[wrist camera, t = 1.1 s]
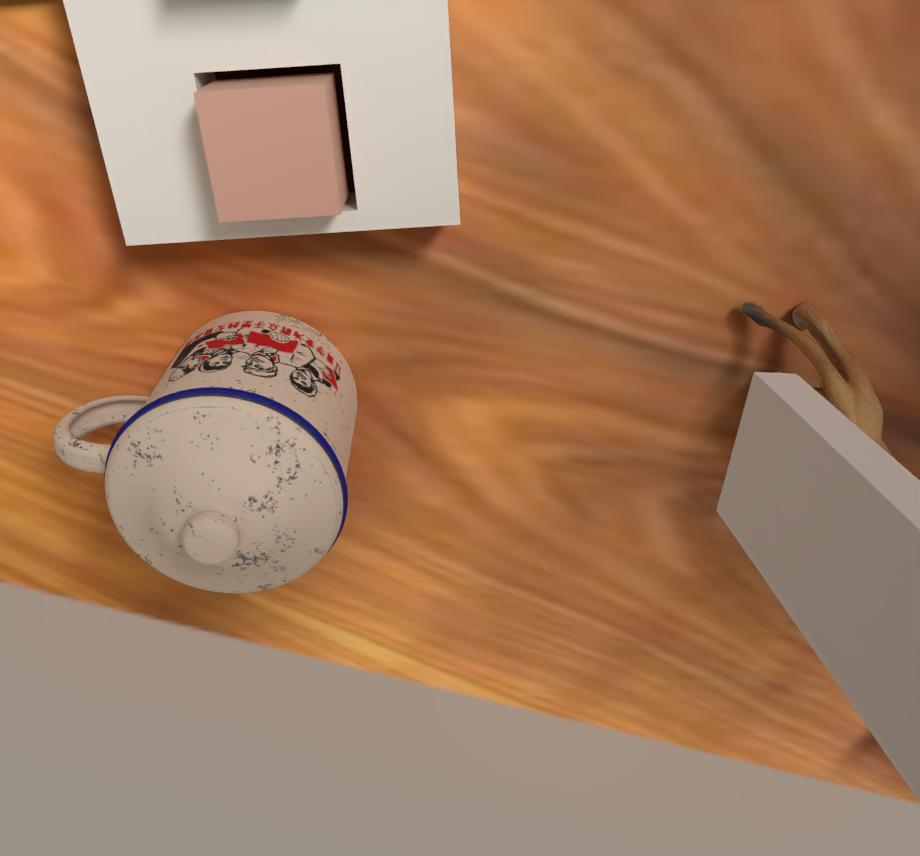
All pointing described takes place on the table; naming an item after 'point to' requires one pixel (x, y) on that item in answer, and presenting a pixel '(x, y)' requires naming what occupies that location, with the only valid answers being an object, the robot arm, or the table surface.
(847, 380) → the lion figurine
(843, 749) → the table surface
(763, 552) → the robot arm
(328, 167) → the terracotta button
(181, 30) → the button board
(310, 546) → the teacup with lid
